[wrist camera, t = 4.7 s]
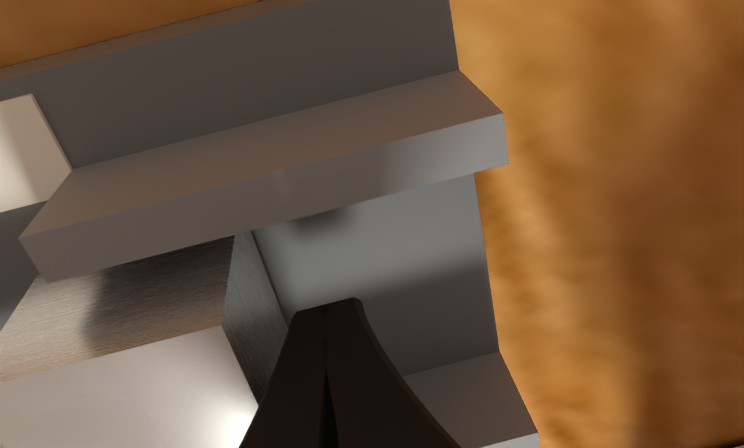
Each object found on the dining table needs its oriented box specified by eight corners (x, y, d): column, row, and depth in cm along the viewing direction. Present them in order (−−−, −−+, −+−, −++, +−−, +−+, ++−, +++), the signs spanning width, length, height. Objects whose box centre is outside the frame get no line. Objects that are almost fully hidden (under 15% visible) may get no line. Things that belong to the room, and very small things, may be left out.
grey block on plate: (239, 203, 11) (221, 325, 8) (313, 393, 13) (321, 542, 10) (-107, 292, 11) (-265, 451, 8) (32, 465, 13) (-44, 637, 10)
